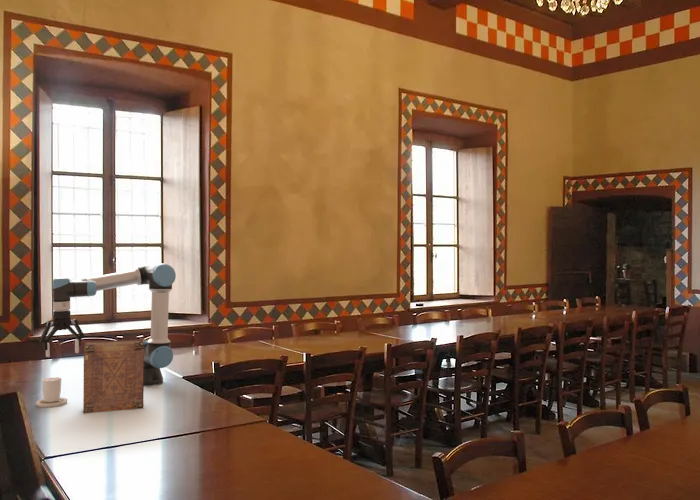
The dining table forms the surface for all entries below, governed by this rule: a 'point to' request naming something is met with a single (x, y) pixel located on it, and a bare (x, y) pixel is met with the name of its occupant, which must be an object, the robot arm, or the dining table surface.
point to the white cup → (51, 389)
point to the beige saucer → (51, 403)
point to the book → (113, 375)
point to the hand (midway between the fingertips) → (62, 354)
